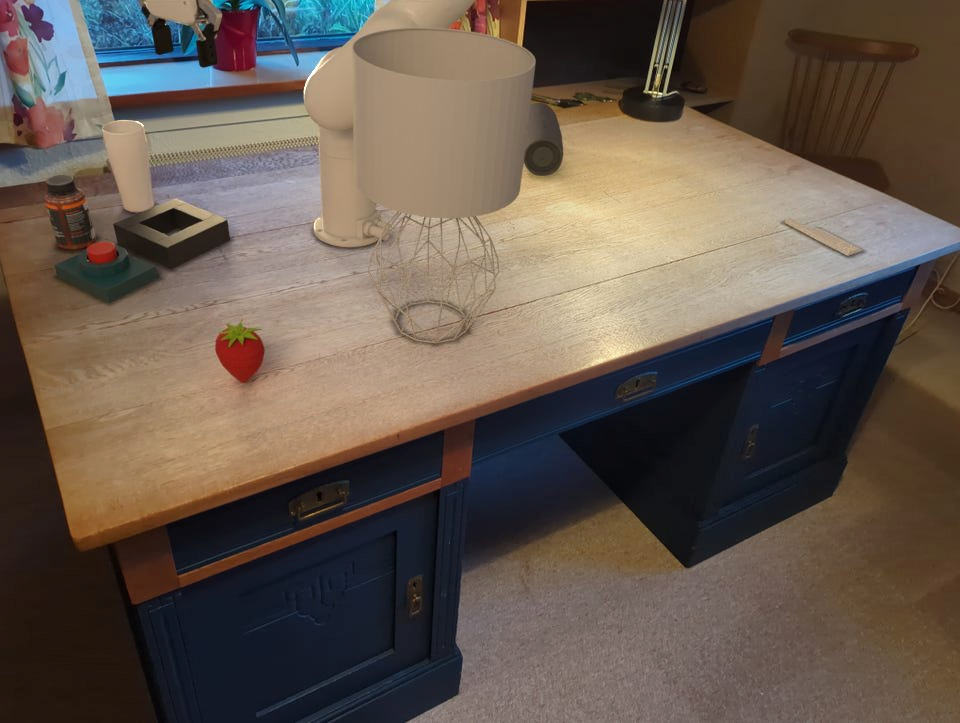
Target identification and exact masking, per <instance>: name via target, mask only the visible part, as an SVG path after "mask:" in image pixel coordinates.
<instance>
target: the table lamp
mask: <svg viewBox="0 0 960 723" xmlns="http://www.w3.org/2000/svg"><path fill="white" fill-rule="evenodd" d="M535 71H536V58H535V55H534V54H533V53H532V51H529V50H528V49H527V48H525V47H524V46H522V45H520V44H518V43H515V42H512V41H511V40H508V39H505V38H501V37H497V36H494V35H491V34H486V33H481V32H476V31H468V30H462V29H453V28H448V29H445V28H398V29H389V30H383V31H378V32H373V33H370V34H367V35H364V36H362V37H360V38H358V39H357V40H356V41H355V42H354V43H353V45H352V82H353V133H354V180H355V184H356V186H357V188H358V189H359V191H360V192H361V193H362V194H363V195H364V196H366V197H367V198H368V199H370V200H371V201H373V202H375V203H376V205H378V206H381V207H384V208H387V209H389V210H392V211H395V214H394V215H393V216H392V217H391V218H390V219H389V220H388V222H386V223H387V224H386V226H385V228H384V230H383V232H382V234H381V236H380V238H379V240H378V241H376V244H375V246H374V249H373V251H372V253H371V255H370V256H369V261H368V266H367V273H368V275H369V277H370V280H371V281H372V283H373V285H374V287H375V290H376V291H377V293H378V295H379V297H380V299H381V301H382V302H383V305H384V306H385V308H386V310H387V312H388V313H389V315H390V317H391V319H392V322H394V324H395V326H396V327H397V330H398V331H399V333H400V334H401V335H404V336H406V337H407V338H409V339H411V340H414V341H415V342H420V343H421V342H422V343H429V344H439V343H444V342H445V343H446V342H450V341H451V342H452V341H455V340H457V339H459V337H461V336H462V335H464V334H465V333H467V331H468V330H469V328H470V327H471V326H472V325H473V323H474V322H475V320H476V319H477V317H478V316H479V314H481V312H482V310H483V309H484V308H485V306H486V304H487V303H488V302H489V300H490V298H491V297H492V295H493V294H494V292H495V291H496V289H497V286H496V284H497V283H496V278H497V276H498V275H499V273H500V262H499V255H498V252H497V251H496V247H495V245H494V242H493V240H492V238H491V236H490V235H489V233H488V231H487V230H486V229H485V227H484V226H483V224H482V223H481V221H480V220H479V219H478V217H479V216H484V215H488V214H492V213H495V212H498V211H500V210H502V209H505V208H507V207H508V206H510V205H512V203H513V202H515V201H516V199H517V198H518V197H519V195H520V192H521V187H522V186H521V185H522V178H523V170H524V169H523V168H524V154H525V145H526V137H527V129H528V121H529V113H530V105H531V104H532V95H533V88H534V79H535ZM402 214H404V215H403V216H402V217H401V218H400V219H399V217H400V216H401V215H402ZM408 215H409V216H408ZM412 216H415V217H423V219H422V222H419V221H417V220H415V219H414V218H411V217H412ZM426 218H429V219H428V225H425V221H426ZM432 218H433V219H439V223H436V224H434V225H431V219H432ZM465 218H467V219H468V221H469V223H470V225H471V227H472V228H473V229H472V228H471V227H470V226H469V225H468V224H467V223H466V222H465V221H464V220H463V219H465ZM471 218H472V219H473V220H474V222H475V223H476V225H477V226H478V229H479V232H480V234H479V232H478V230H477V228H476V227H475V225H474V223H473V221H472V220H471ZM398 219H399V220H398ZM405 219H406V221H405ZM443 219H446V220H444V221H443ZM454 219H455V220H456V224H457V228H458V229H457V230H458V245H457V250H456V255H455V260H454V263H453V264H454V265H452V264H451V262H450V261H449V260H448V259H447V258H446V257H445V255H444V254H443V253H444V250H443V249H444V248H443V224H445V223H447V222H449V221H452V220H454ZM397 220H398V221H397ZM396 221H397V222H396ZM409 221H412V222H414V223H416V224H418V225H420V226H421V227H420V230H419V234H418V237H417V241H416V244H415V248H414V251H413V255H412V257H411V258H410V260H408V261H407V263H403V259H402V253H401V249H400V238H401V235H402V233H403V231H404V229H405V228H406V226H407V225H408V223H409ZM395 222H396V223H395ZM404 222H405V223H404ZM460 222H461V223H462V224H463V225H464V226H465V227H466V228H468V229H469V231H470V232H472V234H474V235H475V236H476V237H477V238H478V239H479V241H480V243H481V245H482V247H483V255H479V256H478V257H476V258H474V259H471V257H470V255H469V252H468V248H467V244H466V242H465V238H464V235H463V231H462V228H461V225H460ZM394 223H395V224H394ZM400 223H401V224H400ZM388 224H390V226H389V227H388V228H387V229H386V227H387V225H388ZM399 224H400V227H399V229H398V234H397V236H396V238H395V240H394V241H393V243H392V245H391V246H390V249H389V250H388V251H387V252H388V253H387V255H386V257H385V258H384V257H383V256H382V254H383V253H382V252H383V251H382V248H383V246H382V245H383V244H382V239H383V238H384V237H385V236H386V235H387V234H388V233H389V232H390V233H391V232H392V230H394V229H395V228H396V227H397V225H399ZM391 226H392V228H391V229H390V230H389V231H388V229H389V228H390V227H391ZM437 226H440V250H439V249H438V248H437V247H436V246H435V245H434V244H433V243H432V242H431V241H430V231H431V229H432V228H435V227H437ZM423 228H426V229H427V238H426V241H424V243H423V244H422V246H420V247H419V249H418V246H419V243H420V240H421V236H422V232H423ZM385 229H386V231H385ZM384 231H385V232H384ZM387 231H388V232H387ZM482 231H483V232H484V233H485V234H486V236H487V237H488V238H487V239H486V240H485V238H484V234H483V232H482ZM386 232H387V233H386ZM385 233H386V234H385ZM384 234H385V235H384ZM383 235H384V236H383ZM461 241H462V243H463V246H464V249H465V253H466V257H467V259H468V261H466V262H465V263H462V264H460V265H458V266H457V261H458V257H459V251H460V247H461ZM488 242H489V246H490V247H489V248H490V253H489V250H488V248H487V247H486V243H488ZM426 244H427V246H426ZM395 245H396V246H397V250H398V255H399V260H400V265H398V264H395V263H393V262H391V261H390V260H388V259H389V256H390V255H391V252H392V250H393V249H394V247H395ZM425 246H426V247H427V248H426V249H427V255H426V256H427V261H426V262H427V263H426V264H427V265H426V266H427V268H426V269H427V270H426V272H427V273H425V272H424V271H423V270H422V269H421V268H420V267H419V266H418V265H417V264H416V263H415V262H414V261H415V257H416V256H417V255H418V254H419V252H421V250H422V249H423V248H424V247H425ZM430 246H432V248H434V250H435V251H436V252H437V253H438V254H439V255H440V282H441V283H440V285H439V286H438V285H437V284H436V283H435V282H434V281H433V280H432V279H431V278H430ZM378 252H379V255H378ZM374 254H375V267H376V279H377V284H376V282H375V280H374V277H373V276H372V274H371V271H370V269H371V265H372V264H371V263H372V259H373V256H374ZM494 254H495V258H496V266H497V271H496V270H495V261H494ZM490 255H491V256H490ZM487 258H488V261H489V264H490V267H491V270H489V269H488V268H487ZM479 259H481V262H480V264H478V263H476V262H475V261H477V260H479ZM382 260H383V261H384V263H383V261H382ZM444 261H445V262H446V263H447V264H448V265H449V267H451V269H452V270H450V272H449V274H448V275H447V276H446V277H445V279H444ZM387 263H388V264H390V265H391V266H394V268H391V269H389V270H387V271H384V270H385V267H386V265H387ZM483 263H484V266H482V265H483ZM408 265H410V266H409V272H407V271H406V268H407V266H408ZM472 265H474V266H476V267H478V269H477V271H476V274H475V276H474V271H473V266H472ZM413 266H414V267H415V268H416V269H417V270H418V271H419V273H421V274H422V275H423V276H424V277H425V278H426V280H427V284H426V285H427V293H426V294H427V297H426V295H425V293H423V291H422V290H421V288H419V287H418V285H417V284H416V282H415V281H414V280H413V279H412V277H411V274H412V270H413ZM467 267H469V268H470V274H471V279H472V280H471V281H472V283H471V285H470V288H469V290H468V292H467V294H466V296H465V298H464V301H463V303H462V305H461V300H460V299H461V298H460V293H459V287H458V286H459V285H458V279H457V278H458V277H459V276H460V275H461V273H463V271H464V270H465V269H466V268H467ZM459 268H462V269H460V270H459V272H458V273H456V270H457V269H459ZM398 269H400V270H401V278H400V285H399V287H400V288H399V296H398V305H397V302H396V300H395V298H394V295H393V292H392V290H391V287H390V285H389V283H388V280H387V278H386V275H385V274H388V273H390V272H392V271H396V270H398ZM480 269H482V270H484V292H483V293H481V294H480V295H479V296H476V283H475V282H476V281H477V277H478V275H479V273H480ZM487 272H488V273H490V274H492V275H493V278H492V280H491V282H490V283H489V285H487V283H488V282H487ZM382 276H383V279H384V281H385V284H386V286H387V289H388V291H389V294H390V296H391V298H390V297H389V296H388V295H387V294H386V293H385V292H384V291H383V290H382V289H381V284H382ZM406 276H407V277H406ZM450 276H451V278H450V281H449V282H448V283H447V285H445V287H444V283H445V282H446V281H447V280H448V278H449V277H450ZM403 280H404V283H405V296H404V305H405V306H404V307H402V308H400V307H401V299H402V288H403ZM410 281H411V283H412V284H413V285H414V286H415V287H416V290H418V292H420V294H421V295H422V297H423V298H424V299H425V300H424V301H417V302H412V300H411V296H410V290H409V284H410ZM453 282H455V287H456V294H457V300H458V306H459V308H458V307H456V306H453V305H452V304H449V303H448V301H449V296H450V292H451V289H452V288H451V287H452V284H453ZM430 283H431V284H432V285H433V286H434V287H435V288H436V289H435V291H434V292H433V293H432V294H431V295H430ZM492 284H493V288H491V286H492ZM447 288H448V290H447ZM472 288H473V300H472V301H471V302H470V303H468V304H467V305H465V304H466V302H467V300H468V297H469V295H470V293H471V291H472ZM446 290H447V295H446V300H445V302H443V299H444V298H443V297H444V291H446ZM438 291H439V292H440V301H433V300H431V299H432V298H433V297H434V296H435V294H436V293H437V292H438ZM487 293H488V294H487ZM479 299H480V300H479ZM407 300H409V304H408V301H407ZM477 300H479V301H478V303H477V305H476V306H475V304H476V302H477ZM425 303H432V304H440V306H438V307H436V308H432V309H430V310H427V311H425V312H423V313H422V312H421V313H420V314H417V315H414V316H413V317H411V315H410V311H409V307H410V306H413V305H419V304H425ZM388 304H389V305H388ZM443 305H446V306H449V307H451V308H453V309H455V310H457V311H459V312H460V313H461V314H460V313H458V312H456V311H453V310H451V309H449V308H447V307H444V306H443ZM481 305H482V306H481ZM389 306H391V307H392V308H393V309H394V310H396V315H395V317H394V315H393V313H392V311H391V309H390V307H389ZM469 306H470V308H469V310H468V312H467V314H465V313H464V312H463V311H464V310H465V309H467V308H468V307H469ZM474 306H475V307H474ZM480 306H481V308H480ZM479 308H480V309H479ZM405 309H406V312H407V313H406V312H405V311H404V310H405ZM437 310H439V315H438V323H437V328H436V333H435V339H434V338H432V337H431V336H430V335H429V334H428V333H427V332H426V331H425V330H424V329H423V328H421V326H419V324H417V323H416V321H414V320H413V319H415V318H418V317H421V316H423V315H427V314H430V313H432V312H434V311H437ZM443 310H445V311H447V312H449V313H452V314H454V315H456V316H459V317H461V318H463V319H462V320H461V321H459V322H458V323H457V324H456V325H454V326H453V327H452V328H450V330H448V331H447V332H446V333H445V334H443V335H441V337H440V338H438V337H439V336H438V335H439V330H440V324H441V318H442V311H443ZM400 312H401V313H402V314H403V315H404V317H406V318H407V319H408V320H407V321H406V322H405V324H404V326H403V327H402V328H400V326H399V324H398V321H397V319H398V317H399V314H400ZM408 324H410V326H411V330H412V333H413V336H411V335H409V334H407V333H406V332H403V331H404V330H405V329H406V327H407V326H408ZM414 326H416V327H417V328H418V329H419V330H420V331H421V332H422V333H423V334H424V335H425V336H426V337H427V338H429V339H430V340H424V339H419V338H417V336H416V332H415V329H414ZM458 326H459V328H458V330H457V331H456V333H455V334H454V335H455V336H454V337H453V338H450V339H449V338H448V339H444V338H445V337H446V336H447V335H449V333H452V331H453V330H455V329H456V328H457V327H458ZM463 326H464V331H462V332H461V329H463ZM460 332H461V333H460ZM442 339H443V340H442Z"/></svg>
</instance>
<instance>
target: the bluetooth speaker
mask: <svg viewBox="0 0 960 723" xmlns="http://www.w3.org/2000/svg"><path fill="white" fill-rule="evenodd" d="M563 144H564V143H563V135H562V130H561V127H560V123H559V120H558V116H557V114H556V112H555V111H554V109H553V108H552V107H551V106H550V105H549V104H546V103H543V102H534V103H531V104H530V113H529V121H528V129H527V137H526V145H525V154H524V162H523V165H524V166H525V168H526V169H527V171H528V172H530V173H531V174H532V175H534V176H539V177H548V176H551V175H553V174H554V173H556V172H557V171H558V170H559V169H560V168H561V166H562V163H563V158H564V145H563Z"/></svg>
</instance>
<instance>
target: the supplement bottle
mask: <svg viewBox="0 0 960 723" xmlns="http://www.w3.org/2000/svg"><path fill="white" fill-rule="evenodd" d="M45 184H46V189H47V191H46V192H45V194H44V196H43V200H44V204H45V207H46V212H47V215H48V218H49V221H50V224H51V227H52V228H51V229H52V231H53V235H54V238H55V241H56V243H57V246H58V247H60V248H61V249H63V250H69V251H70V250H71V251H78V250H82V249H85V248H86V249H87V247H88V246H89V245H91V244H93V243H96V239H97V237H96V232H95V229H94V225H93V221H92V217H91V213H90V210H89V206H88V202H87V198H86V194H85V191H83V190H82V189H81V188H80V187H78V186H76V182H75V179H74V177H73V176H72V175H68V174H56V175H52V176H50V177H48V178H47V179H46V180H45Z"/></svg>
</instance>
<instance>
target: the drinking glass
mask: <svg viewBox="0 0 960 723" xmlns="http://www.w3.org/2000/svg"><path fill="white" fill-rule="evenodd" d="M101 133H102V140H103V144H104V148H105V153H106V156H107V159H108V162H109V165H110V168H111V171H112V174H113V178H114V180H115V183H116V187H117V190H118V193H119V197H120V200H121V205H122V207H123V209H124V210H126V211H127V212H130V213H140V212H143V211H145V210H148V209H150V208H153V207H155V206H154V205H155V200H154V194H153V186H152V184H153V183H152V175H151V165H150V153H149V146H148V140H147V136H146V131H145V127H144V125H143V124H142V123H141V122H139V121H137V120H130V119H119V120H113V121H109V122H107V123H104V124H103V125H102V126H101Z"/></svg>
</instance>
